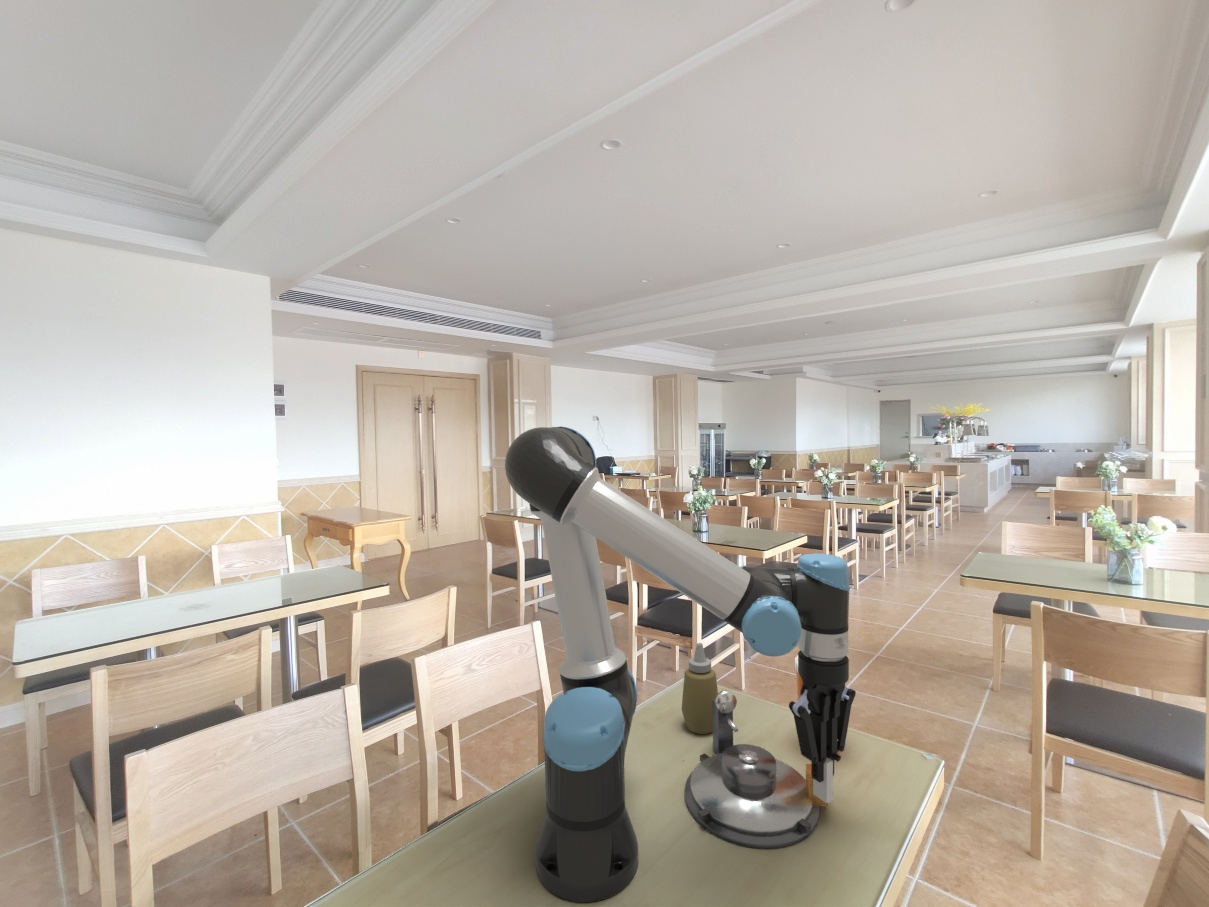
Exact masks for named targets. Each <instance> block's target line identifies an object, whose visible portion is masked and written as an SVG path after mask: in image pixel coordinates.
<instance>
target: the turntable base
mask: <svg viewBox="0 0 1209 907" xmlns="http://www.w3.org/2000/svg"><path fill="white" fill-rule="evenodd" d="M692 772H693V770H692V771H691V773H690V774H689V775H688V777H687V779H686V782H685V785H684V800H685V804H686V807H687V809H688V811H689V813H690V815H691V816H692V818H693V820H695V821H696V822H697V823H698V824H699V825H700V826H701V827H702V828H703V829H704V830H706V831H707V832H709V834H712V835H713V836H715V837H717V838H718V839H721V840H723V841H725V842H727V843H731V844H734V845H737V846H741V847H744V848H748V849H756V850H776V849H777V850H779V849H784V848H788V847H792V846H794V845H797V844H799V843H801V842H803V841H804V840H806V839H807V838H809V837H810V836H811V835H813V833H814V831H815V830H816V829H817V826H818V824H819V820H820V805H813V809H812V813H811V815H810V817H809V819H808V820H807V822H809V823H810V824H811V831H809V832H808V833H804V832H803V831H801V830H800V829H799V828H797V829H796V830H794V831H791V832H788V833H785V834H781V835H774V836H756V835H749V834H744V833H740V832H736V831H733V830H730V829H728V828H725V827H723V826H721V825H719V824H717V823H716V822H714V821H712V820H711V819H709V820H707V821H705V822H702V821H701V820H700V819H698V812H699V811H701V810H700V809H699V808H698V807H697V805H696V804H695V802H694V800H693V798H692V794H691V775H692Z"/></svg>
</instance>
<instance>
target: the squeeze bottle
mask: <svg viewBox="0 0 1209 907" xmlns="http://www.w3.org/2000/svg"><path fill="white" fill-rule="evenodd" d="M682 688H683V690H682V697H681V699H682V700H681V713H682V715H683V718H684V721H685V724H686V727H687V729H688V730H689V731H690V732H692V733H695V734H697V735H698V734H699V735H707V734H711V733H713V716H712V699H715V698H716V696H717V694H718V693H719V691H718V682H717V674H716V672H715V671H714V669H712V661H711V660H710V659H709V657H708V658H707V657H706V653H705V650H704V645H703V643H702V642H698V643H696V646H695V652H694V657H690V658H689V660H688V668H687V669H686V670H685V671H684V677H683V687H682Z"/></svg>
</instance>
